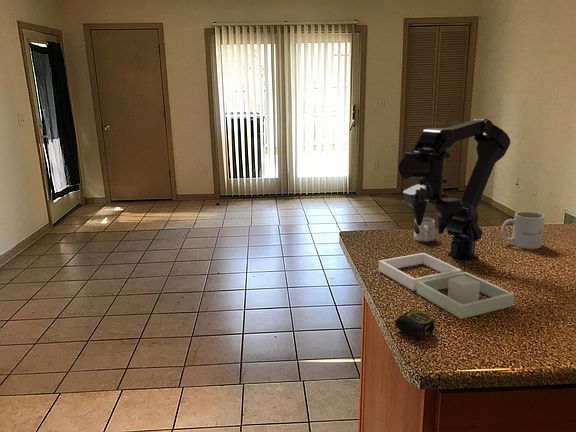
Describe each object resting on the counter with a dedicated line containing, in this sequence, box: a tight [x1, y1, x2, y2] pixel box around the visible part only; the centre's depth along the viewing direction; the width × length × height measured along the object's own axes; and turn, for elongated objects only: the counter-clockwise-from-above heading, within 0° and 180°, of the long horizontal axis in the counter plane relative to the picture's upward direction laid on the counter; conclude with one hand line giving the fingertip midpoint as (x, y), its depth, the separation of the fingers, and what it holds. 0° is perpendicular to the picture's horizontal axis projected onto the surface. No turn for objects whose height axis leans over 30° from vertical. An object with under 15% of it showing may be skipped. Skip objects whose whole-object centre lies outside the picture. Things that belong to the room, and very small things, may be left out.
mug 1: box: [413, 217, 436, 243], centre depth 161 cm, size 10×7×7 cm, turn 172°
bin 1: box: [377, 252, 463, 292], centre depth 131 cm, size 16×16×3 cm
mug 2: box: [500, 211, 545, 250], centre depth 155 cm, size 12×9×10 cm
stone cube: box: [447, 275, 480, 304], centre depth 115 cm, size 5×5×5 cm
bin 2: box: [416, 271, 515, 320], centre depth 116 cm, size 16×16×3 cm
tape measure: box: [394, 310, 435, 341], centre depth 100 cm, size 7×7×4 cm
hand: (429, 229), depth 135 cm, fingers open, 9 cm apart
